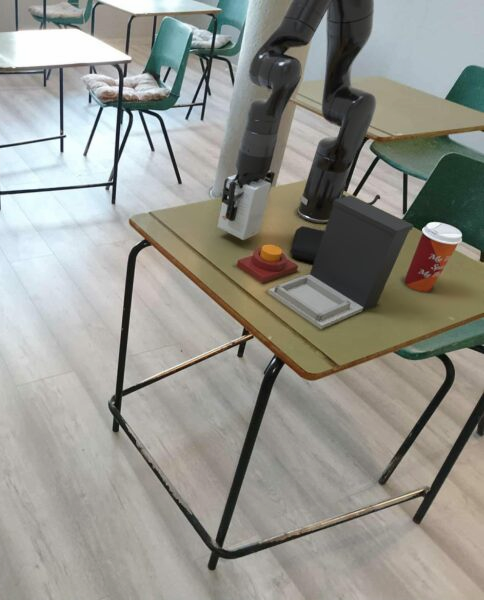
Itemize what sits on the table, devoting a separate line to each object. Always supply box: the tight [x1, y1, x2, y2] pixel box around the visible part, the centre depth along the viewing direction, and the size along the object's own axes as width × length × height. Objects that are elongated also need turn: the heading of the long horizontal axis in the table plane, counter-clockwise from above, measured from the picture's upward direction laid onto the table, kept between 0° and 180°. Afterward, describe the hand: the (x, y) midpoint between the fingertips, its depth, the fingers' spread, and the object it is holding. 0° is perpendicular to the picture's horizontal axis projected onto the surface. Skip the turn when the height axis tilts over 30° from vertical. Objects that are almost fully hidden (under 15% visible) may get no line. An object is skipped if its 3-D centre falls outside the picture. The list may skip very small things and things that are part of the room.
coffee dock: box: [267, 195, 414, 330], centre depth 115 cm, size 18×14×19 cm
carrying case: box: [289, 225, 325, 264], centre depth 136 cm, size 11×3×15 cm
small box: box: [217, 173, 272, 241], centre depth 134 cm, size 8×6×13 cm
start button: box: [260, 244, 283, 262], centre depth 126 cm, size 4×4×2 cm
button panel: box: [236, 247, 299, 285], centre depth 128 cm, size 11×8×4 cm
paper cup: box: [404, 221, 463, 293], centre depth 123 cm, size 8×8×14 cm
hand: (241, 216), depth 135 cm, fingers closed on small box, 6 cm apart
